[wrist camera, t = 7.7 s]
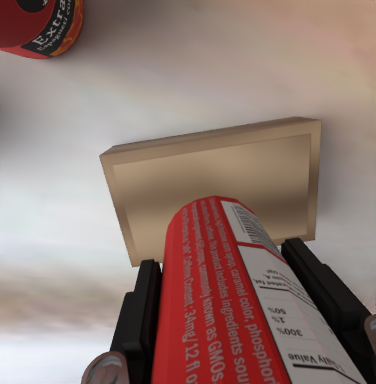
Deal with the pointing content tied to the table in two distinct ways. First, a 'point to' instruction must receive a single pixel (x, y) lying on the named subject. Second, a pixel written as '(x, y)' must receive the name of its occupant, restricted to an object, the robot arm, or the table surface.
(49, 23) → the canned food
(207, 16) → the table surface
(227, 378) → the soda can
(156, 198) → the wooden tray
